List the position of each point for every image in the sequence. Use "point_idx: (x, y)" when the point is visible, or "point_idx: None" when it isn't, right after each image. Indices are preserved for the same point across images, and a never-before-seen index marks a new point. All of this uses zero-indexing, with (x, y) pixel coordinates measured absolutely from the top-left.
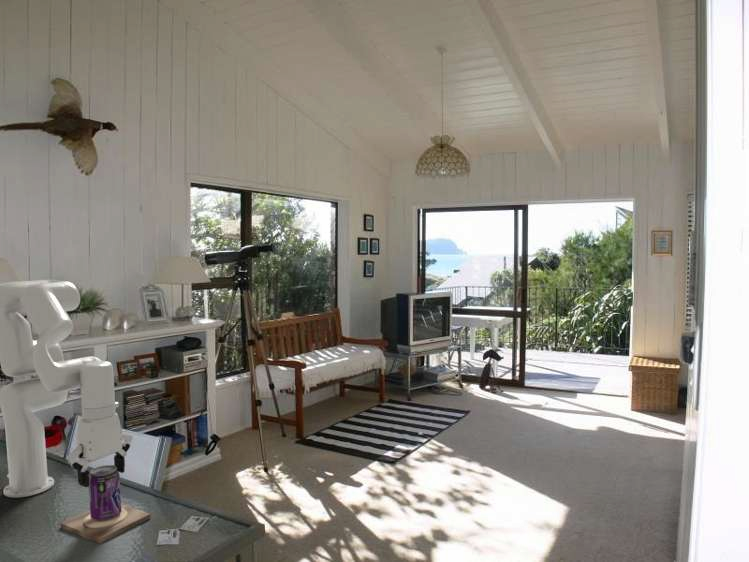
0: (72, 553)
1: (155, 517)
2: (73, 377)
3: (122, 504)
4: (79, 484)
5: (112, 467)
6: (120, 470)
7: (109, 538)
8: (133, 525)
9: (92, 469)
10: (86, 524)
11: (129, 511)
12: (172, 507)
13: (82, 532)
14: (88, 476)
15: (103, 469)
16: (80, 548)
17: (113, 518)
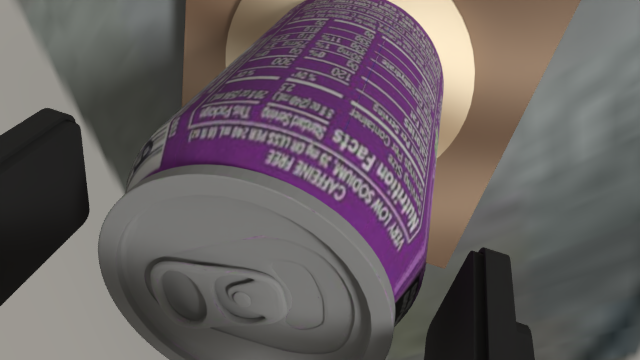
0: (90, 109)
1: (460, 266)
2: None
3: (551, 54)
4: (50, 110)
5: (353, 339)
6: (433, 334)
7: None
8: None
9: (187, 179)
10: (232, 34)
11: (453, 158)
12: (581, 294)
13: (185, 56)
14: (17, 283)
15: (264, 284)
16: (128, 114)
17: None
